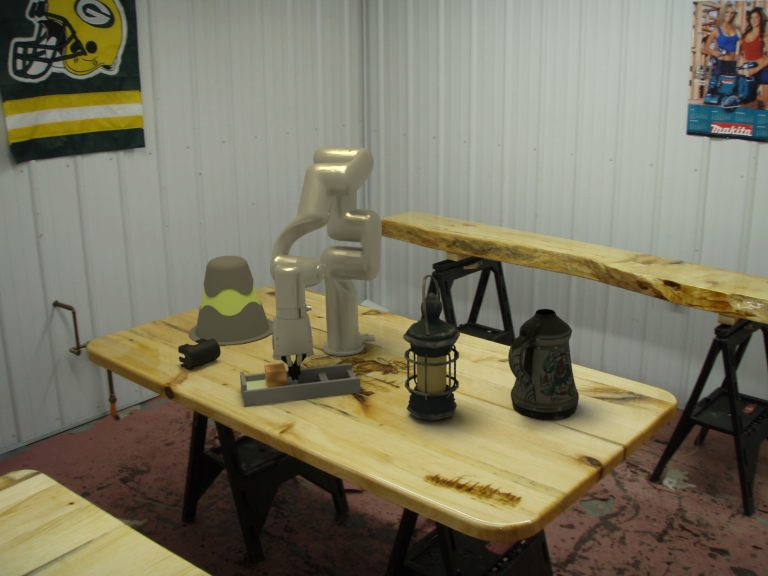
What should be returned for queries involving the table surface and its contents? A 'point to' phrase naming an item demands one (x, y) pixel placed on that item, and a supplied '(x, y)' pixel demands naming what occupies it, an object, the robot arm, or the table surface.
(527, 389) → the beer stein
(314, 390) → the tray
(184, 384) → the table surface
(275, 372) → the orange block
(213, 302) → the grey bell cover
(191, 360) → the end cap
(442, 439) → the table surface
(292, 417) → the table surface
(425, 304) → the lantern
